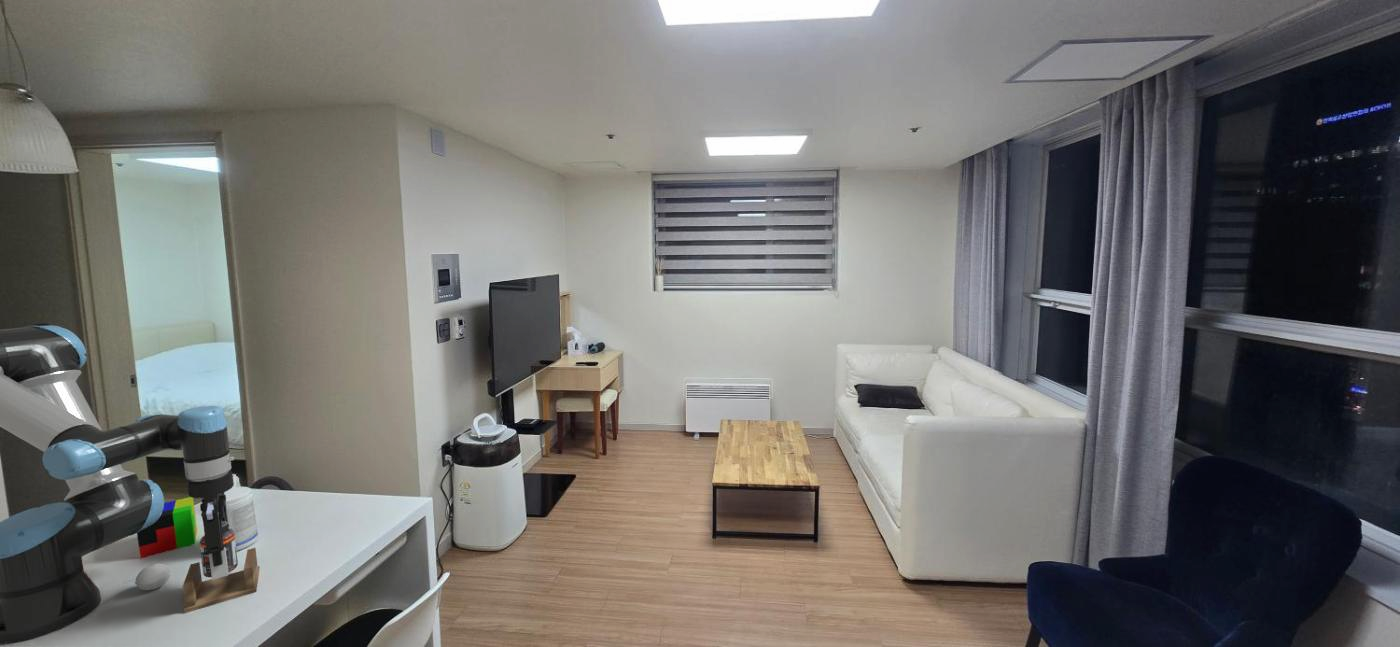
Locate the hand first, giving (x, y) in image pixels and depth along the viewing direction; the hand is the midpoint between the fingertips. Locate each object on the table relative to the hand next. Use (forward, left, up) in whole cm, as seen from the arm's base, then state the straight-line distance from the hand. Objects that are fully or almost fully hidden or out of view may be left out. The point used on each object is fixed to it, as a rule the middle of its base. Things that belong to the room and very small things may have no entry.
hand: (222, 569), depth 119 cm
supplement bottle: (0, 0, 0) cm, 1 cm away
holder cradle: (0, 0, -5) cm, 5 cm away
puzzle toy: (-14, +35, -5) cm, 38 cm away
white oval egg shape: (-14, +11, -5) cm, 19 cm away
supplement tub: (0, +23, -5) cm, 24 cm away
